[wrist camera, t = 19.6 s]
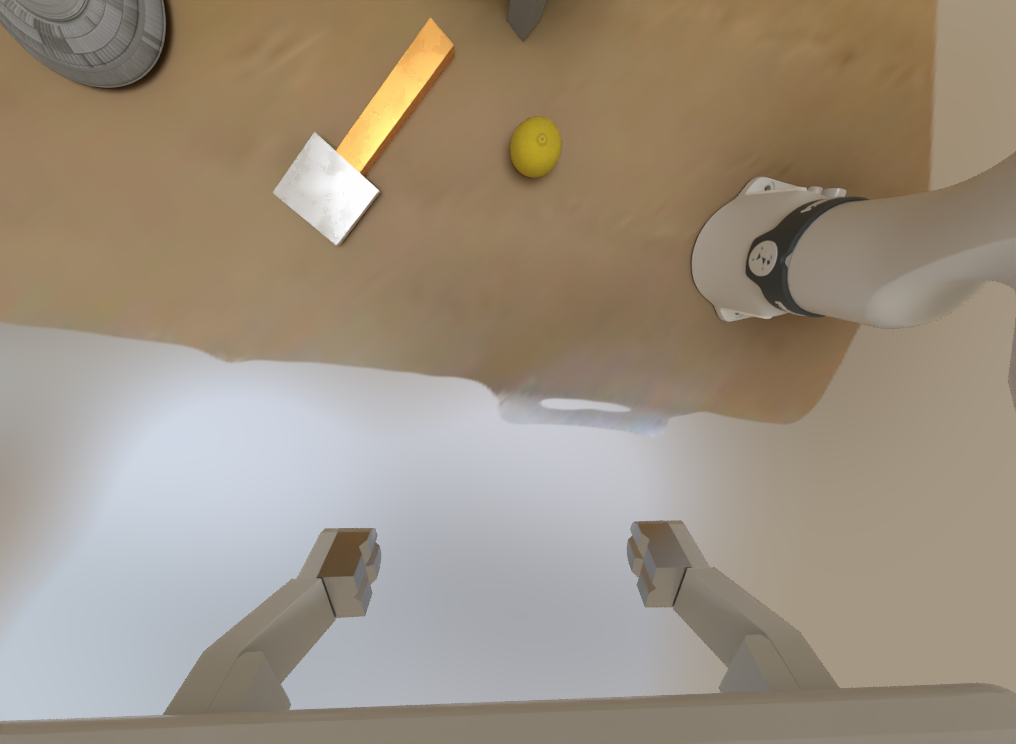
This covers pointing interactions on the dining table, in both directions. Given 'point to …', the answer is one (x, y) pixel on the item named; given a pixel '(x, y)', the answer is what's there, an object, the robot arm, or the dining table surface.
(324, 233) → the turner
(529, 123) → the lemon
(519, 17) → the stool
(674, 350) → the dining table surface
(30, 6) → the flying saucer
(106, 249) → the dining table surface
